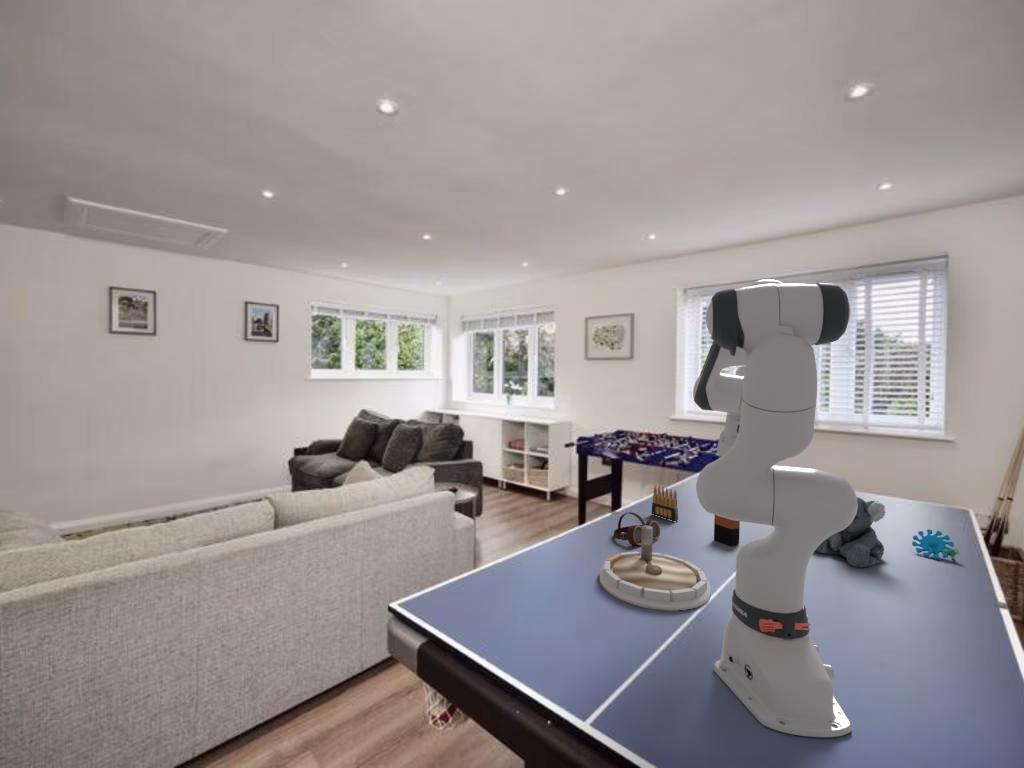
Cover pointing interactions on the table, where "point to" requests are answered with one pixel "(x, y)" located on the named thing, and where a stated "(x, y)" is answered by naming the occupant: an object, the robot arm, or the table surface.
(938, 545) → the blue virus model
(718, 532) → the battery
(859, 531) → the koala plush
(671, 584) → the dial
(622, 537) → the goggles
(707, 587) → the dial base
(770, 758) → the table surface
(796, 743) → the table surface
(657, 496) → the ammunition clip
